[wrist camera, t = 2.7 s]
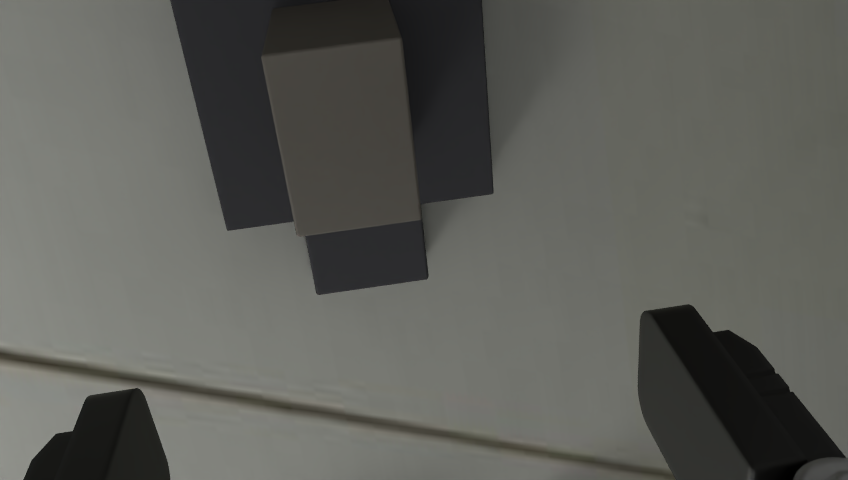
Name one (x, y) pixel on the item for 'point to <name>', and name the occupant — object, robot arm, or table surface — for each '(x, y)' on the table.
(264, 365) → the table surface
